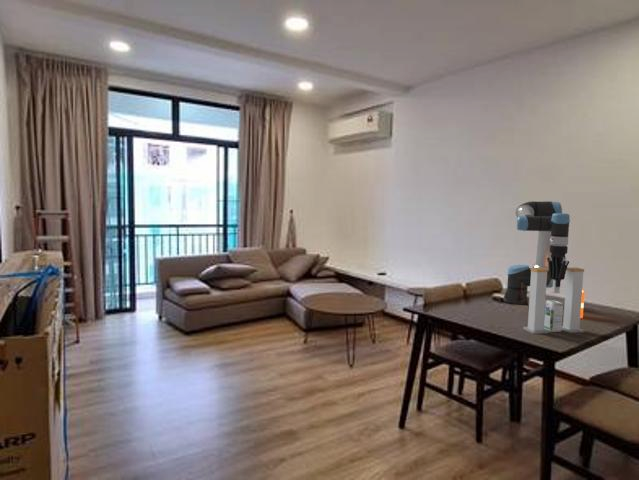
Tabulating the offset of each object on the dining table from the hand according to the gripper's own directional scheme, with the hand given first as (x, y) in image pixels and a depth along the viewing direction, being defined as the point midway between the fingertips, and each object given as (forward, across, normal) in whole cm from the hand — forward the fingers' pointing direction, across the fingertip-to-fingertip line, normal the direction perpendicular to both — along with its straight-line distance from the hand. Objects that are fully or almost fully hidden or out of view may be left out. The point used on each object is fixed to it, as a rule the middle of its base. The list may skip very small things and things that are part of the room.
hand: (555, 292), depth 206 cm
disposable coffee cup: (+19, -28, +9) cm, 35 cm away
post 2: (+19, 0, +10) cm, 21 cm away
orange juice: (+19, -24, +30) cm, 43 cm away
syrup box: (+19, 0, 0) cm, 19 cm away
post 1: (+19, 0, -10) cm, 21 cm away
